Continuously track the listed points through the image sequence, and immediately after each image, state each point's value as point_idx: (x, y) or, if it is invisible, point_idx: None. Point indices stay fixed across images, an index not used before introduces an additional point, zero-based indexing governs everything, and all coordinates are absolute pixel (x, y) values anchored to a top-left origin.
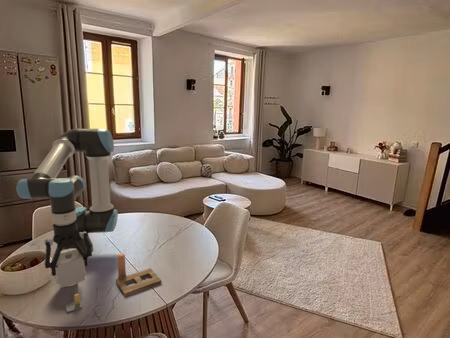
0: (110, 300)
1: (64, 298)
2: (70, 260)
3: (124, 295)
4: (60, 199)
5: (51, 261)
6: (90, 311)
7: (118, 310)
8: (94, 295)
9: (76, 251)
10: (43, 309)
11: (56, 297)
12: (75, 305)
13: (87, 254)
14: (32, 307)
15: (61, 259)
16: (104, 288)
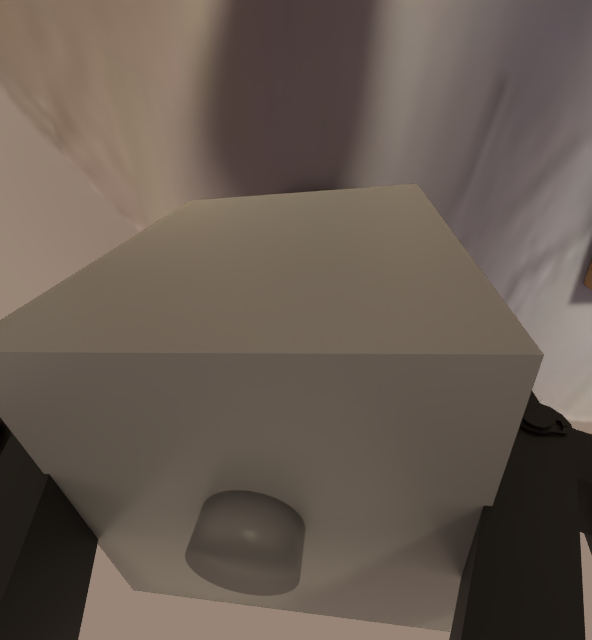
0: (502, 274)
1: (281, 103)
2: (277, 597)
3: (587, 279)
4: None
5: (9, 440)
6: None
7: None
8: (448, 174)
9: (433, 452)
10: (178, 162)
11: (234, 57)
12: None
13: (583, 527)
14: (116, 104)
15: (147, 530)
16: (538, 121)
